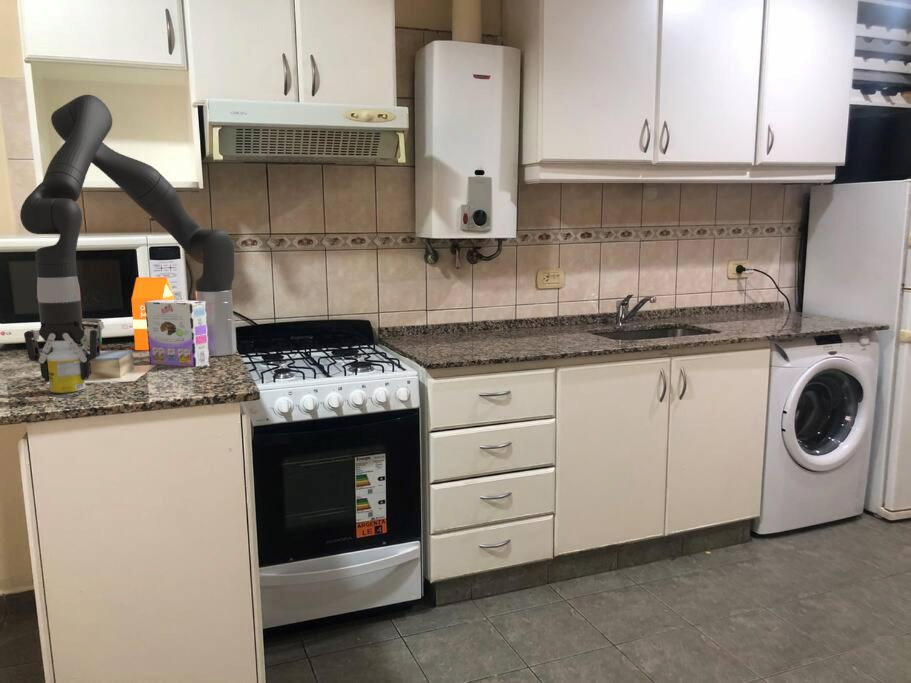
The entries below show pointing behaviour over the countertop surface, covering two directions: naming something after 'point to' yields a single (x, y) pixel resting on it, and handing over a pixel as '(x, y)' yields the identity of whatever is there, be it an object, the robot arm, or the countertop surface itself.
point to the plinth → (112, 364)
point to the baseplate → (130, 376)
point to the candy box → (177, 332)
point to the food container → (93, 325)
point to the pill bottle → (64, 370)
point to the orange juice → (143, 293)
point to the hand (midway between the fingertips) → (67, 379)
